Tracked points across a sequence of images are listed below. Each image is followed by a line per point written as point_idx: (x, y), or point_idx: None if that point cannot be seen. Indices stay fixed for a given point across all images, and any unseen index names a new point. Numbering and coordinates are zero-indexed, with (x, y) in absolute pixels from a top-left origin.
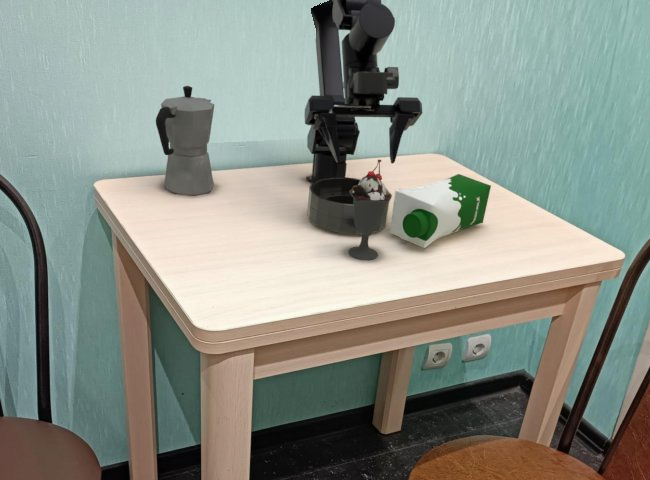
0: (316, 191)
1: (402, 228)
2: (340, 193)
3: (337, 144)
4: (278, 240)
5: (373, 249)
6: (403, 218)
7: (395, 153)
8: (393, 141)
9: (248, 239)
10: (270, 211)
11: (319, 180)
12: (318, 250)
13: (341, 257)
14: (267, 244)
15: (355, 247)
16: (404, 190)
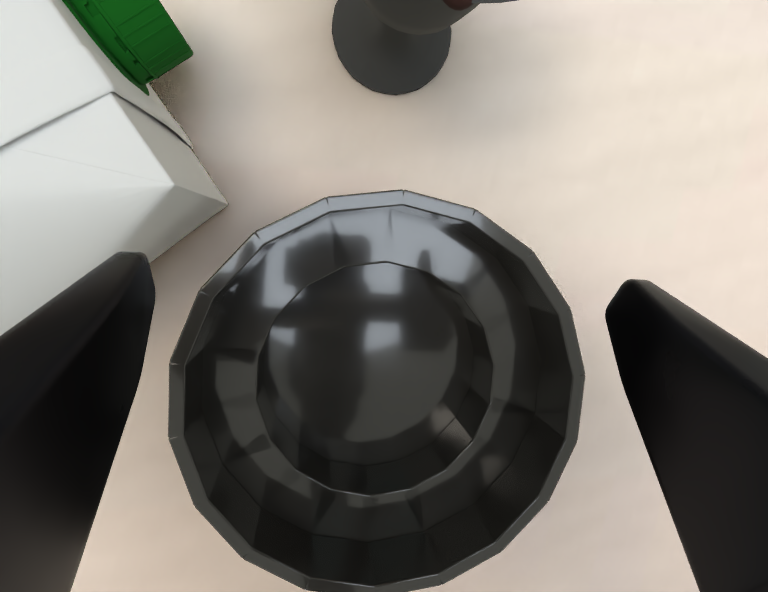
0: (503, 489)
1: (179, 130)
2: (379, 516)
3: (744, 364)
4: (664, 184)
5: (342, 54)
6: (166, 119)
7: (84, 286)
8: (43, 407)
9: (756, 198)
10: (627, 445)
11: (504, 538)
12: (551, 84)
13: (484, 11)
14: (707, 151)
15: (414, 73)
16: (110, 163)
